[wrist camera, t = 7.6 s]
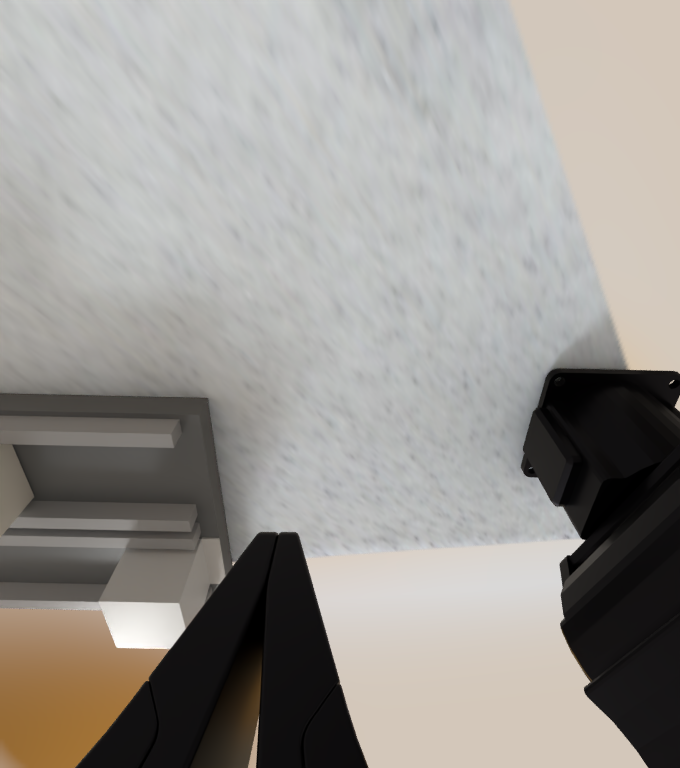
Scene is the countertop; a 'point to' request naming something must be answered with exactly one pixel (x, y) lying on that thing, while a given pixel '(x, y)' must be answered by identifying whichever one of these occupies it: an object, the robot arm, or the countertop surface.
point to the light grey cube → (154, 596)
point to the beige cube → (12, 487)
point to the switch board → (106, 492)
